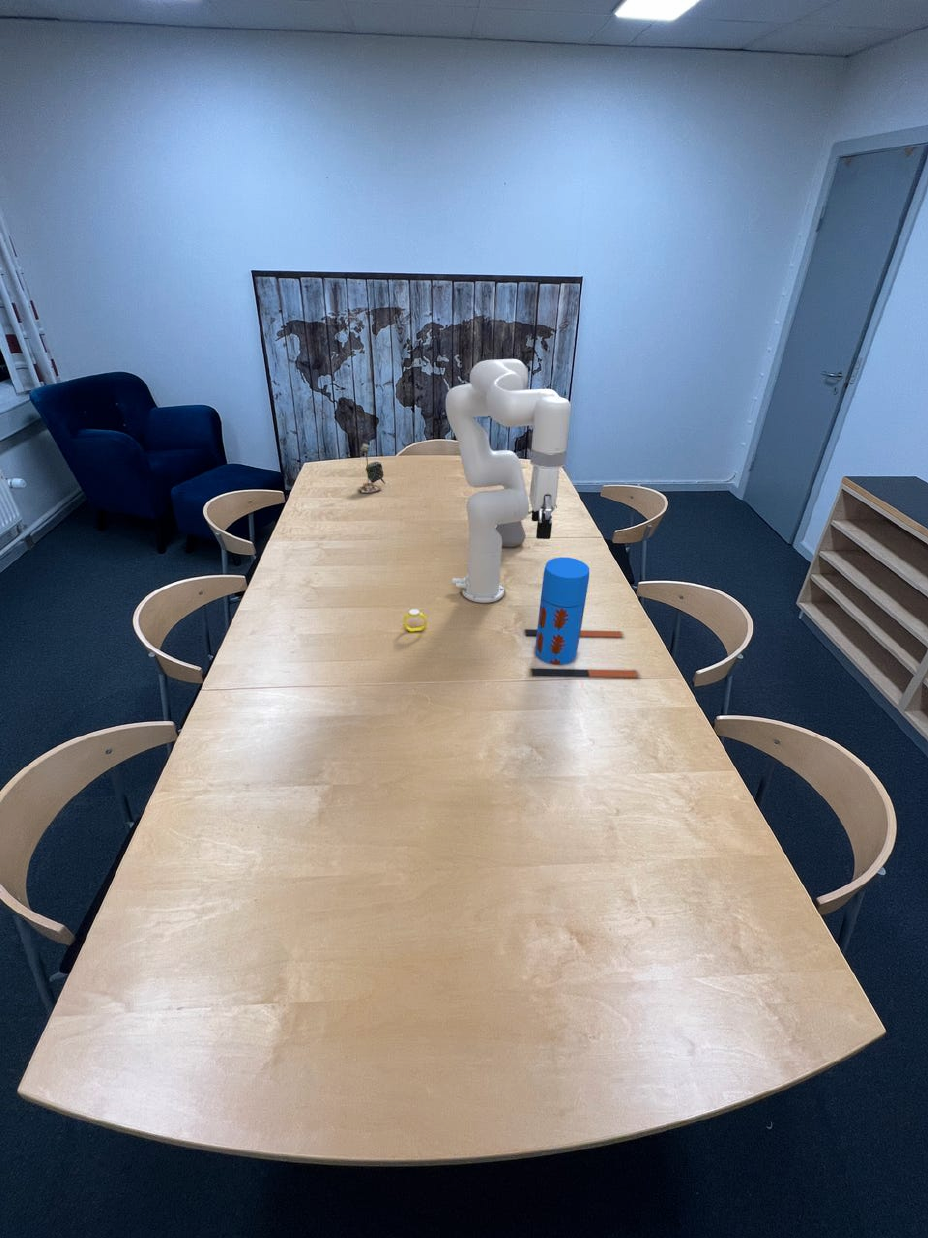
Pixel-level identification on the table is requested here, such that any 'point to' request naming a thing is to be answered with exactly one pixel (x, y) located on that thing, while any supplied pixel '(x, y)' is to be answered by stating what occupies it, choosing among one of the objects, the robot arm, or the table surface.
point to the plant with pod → (371, 473)
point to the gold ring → (414, 613)
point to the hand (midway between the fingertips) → (540, 529)
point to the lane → (585, 672)
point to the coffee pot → (512, 533)
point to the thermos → (561, 610)
